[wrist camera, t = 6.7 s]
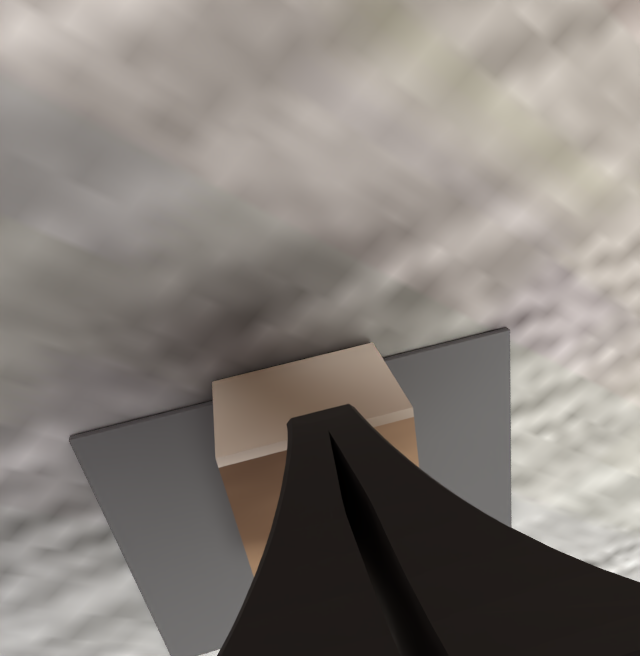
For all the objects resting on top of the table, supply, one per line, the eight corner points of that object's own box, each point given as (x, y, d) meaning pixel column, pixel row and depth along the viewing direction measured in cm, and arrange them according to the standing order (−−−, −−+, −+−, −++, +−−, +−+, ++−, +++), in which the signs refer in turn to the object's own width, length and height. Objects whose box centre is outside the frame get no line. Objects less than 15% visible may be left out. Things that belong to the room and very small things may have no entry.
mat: (174, 657, 22) (174, 662, 22) (70, 436, 17) (68, 440, 16) (509, 558, 23) (511, 562, 23) (506, 327, 18) (509, 330, 18)
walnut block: (211, 382, 17) (261, 545, 20) (215, 458, 13) (273, 638, 17) (373, 342, 17) (395, 507, 20) (412, 407, 14) (432, 591, 17)
